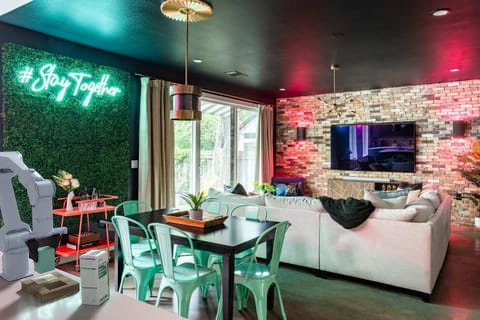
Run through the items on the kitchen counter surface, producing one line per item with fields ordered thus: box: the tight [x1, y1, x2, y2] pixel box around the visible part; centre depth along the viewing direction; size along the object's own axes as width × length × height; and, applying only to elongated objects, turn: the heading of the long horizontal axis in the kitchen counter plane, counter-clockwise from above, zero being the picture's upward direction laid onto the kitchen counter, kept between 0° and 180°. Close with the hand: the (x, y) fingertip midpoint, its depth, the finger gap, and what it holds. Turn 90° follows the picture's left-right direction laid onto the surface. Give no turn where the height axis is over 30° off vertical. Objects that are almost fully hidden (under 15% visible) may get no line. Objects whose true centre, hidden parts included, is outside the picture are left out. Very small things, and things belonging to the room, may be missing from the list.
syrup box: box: [79, 249, 111, 306], centre depth 105 cm, size 6×6×14 cm
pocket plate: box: [20, 271, 81, 304], centre depth 113 cm, size 16×11×3 cm
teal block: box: [33, 245, 56, 275], centre depth 115 cm, size 4×4×7 cm
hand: (44, 259), depth 115 cm, fingers closed on teal block, 4 cm apart
